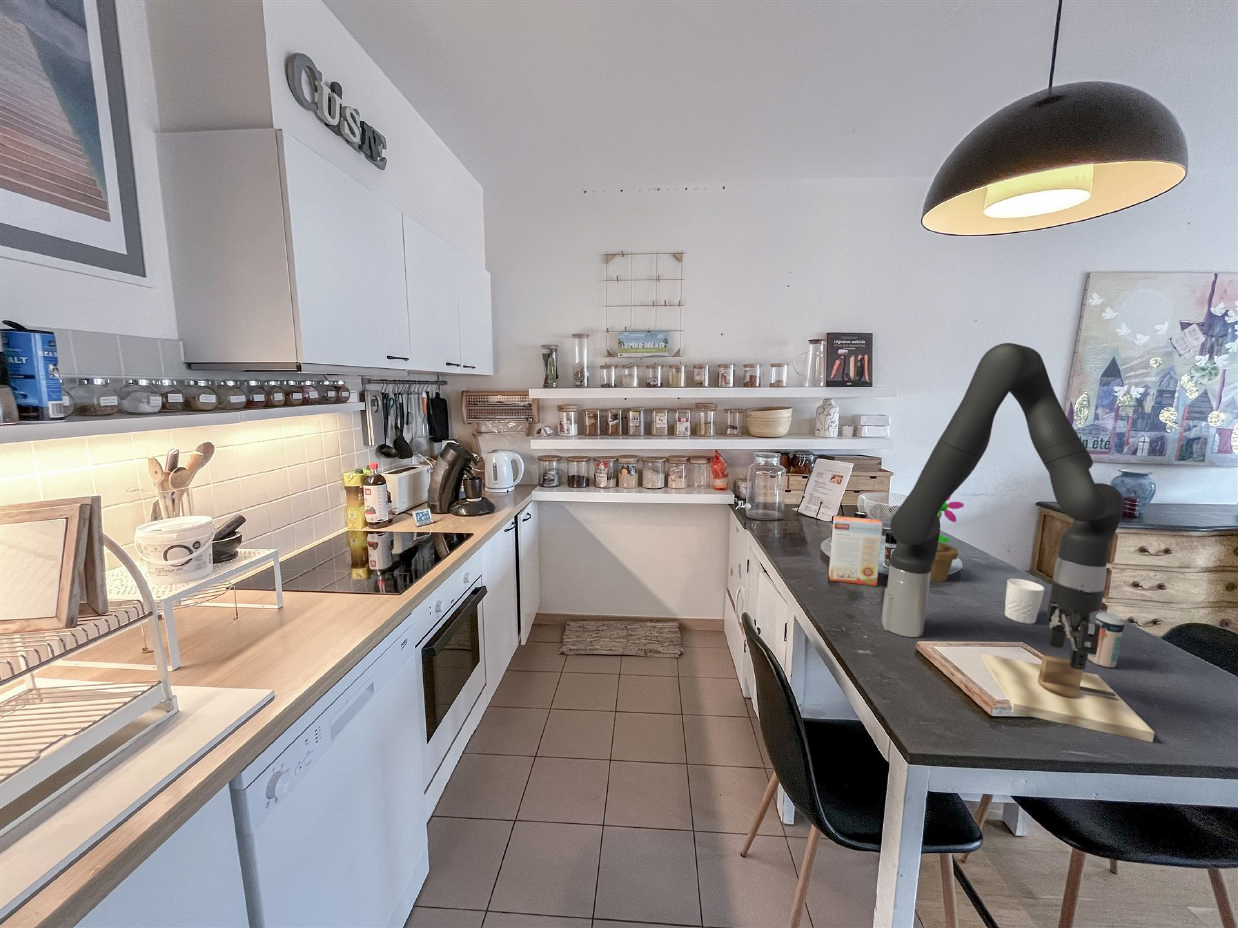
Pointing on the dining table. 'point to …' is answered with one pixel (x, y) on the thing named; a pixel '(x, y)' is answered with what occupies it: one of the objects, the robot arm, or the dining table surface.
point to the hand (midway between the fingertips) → (1065, 656)
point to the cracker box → (855, 550)
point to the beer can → (1108, 639)
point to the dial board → (1065, 700)
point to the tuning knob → (1063, 678)
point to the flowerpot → (944, 547)
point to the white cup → (1023, 600)
